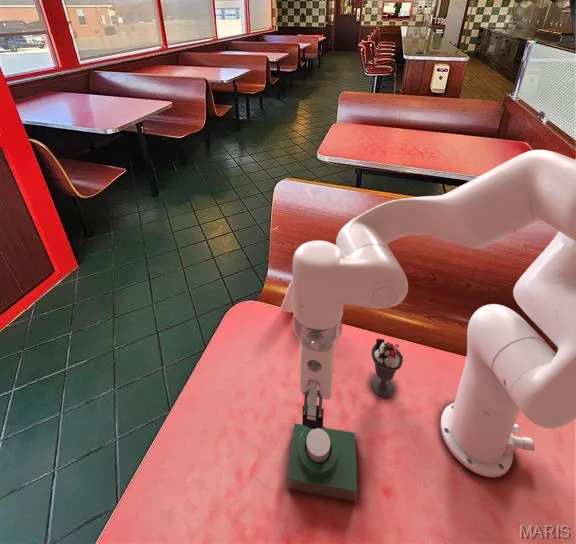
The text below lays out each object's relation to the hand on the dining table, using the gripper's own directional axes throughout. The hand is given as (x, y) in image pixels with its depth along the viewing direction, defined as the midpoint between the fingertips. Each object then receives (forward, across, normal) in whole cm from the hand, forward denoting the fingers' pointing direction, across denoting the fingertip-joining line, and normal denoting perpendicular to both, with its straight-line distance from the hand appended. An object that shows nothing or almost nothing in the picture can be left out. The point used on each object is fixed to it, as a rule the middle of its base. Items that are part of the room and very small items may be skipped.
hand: (315, 393), depth 56 cm
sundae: (+19, +16, -15) cm, 29 cm away
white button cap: (+14, -1, -1) cm, 14 cm away
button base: (+19, 0, -2) cm, 19 cm away
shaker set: (+19, +35, +7) cm, 40 cm away
